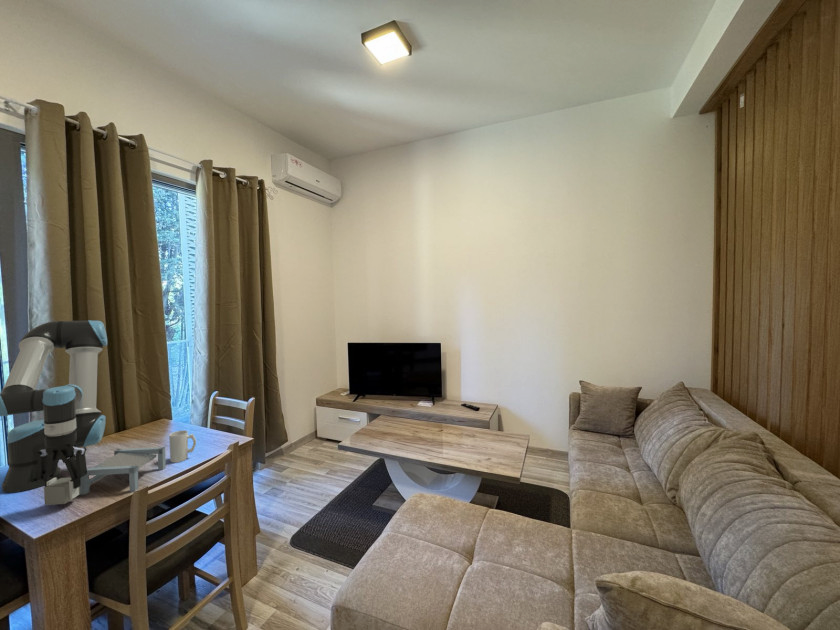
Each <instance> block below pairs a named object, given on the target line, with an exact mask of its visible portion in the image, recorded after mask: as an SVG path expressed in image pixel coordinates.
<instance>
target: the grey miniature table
mask: <svg viewBox="0 0 840 630" xmlns="http://www.w3.org/2000/svg"><path fill="white" fill-rule="evenodd" d="M119 452H121V453H137V454H154V455H157V462H158V465H157V468H158V471H163V470H165V469H166V446H160V447H159V446H158V447H138V448H137V447H135V448H134V447H133V448H119V449H118V448H117V449H115V450H114V451H113V453H114V455H116V454H118V453H119ZM114 455H113V456H114ZM120 474H121V475H125V474H128V475H129V479H128V481H129V483H128V484H129V492H131V493H132V492H133V493H134V492H136V491H137V489H138V490H139V469H138V465H135V466H117V467H99V468H93V467H87V474H86V475H84V476H83V477H81V478H80V480H81V485H80V494H79V495H80V496H83V495H84V496H85V495H87V494H88V493H90V486H91V485H93V484H94V483H96V482H98V481H99V480H101V479H102V478H104V477H106V476H107V475H120ZM90 476H92V477H91V478H90ZM135 490H136V491H135Z"/></svg>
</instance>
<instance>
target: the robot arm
mask: <svg viewBox="0 0 840 630" xmlns="http://www.w3.org/2000/svg"><path fill="white" fill-rule="evenodd" d="M105 327H106V326H105V324H104V322H102V321H101V320H90V319H88V320H53V321H48V322H44V323H42V324H40V325H37V326H36V327H34V328H32V329H31V330H28V332H26V334H24V335H23V337H21V339H20V341H19V344H18V349H19V353H18V354H17V357H16V359H15V360H14V363H13V366H12V368H11V371H10V372H9V374H8V377H7V379H6V382H5V384H4V385H3V387H2V390H1V392H0V417H4V416H12V415H19V414H20V415H21V414H26V413H35V412H43V419H37V420H34V421H29V422H26V423H24V424H20V425H17V426H16V427H14V428H12V429H10V430H9V431H8V435H7V441H6V443H7V456H8V457H7V458H8V469H7V471H6V473H5V477H4V480H3V481H2V484H1V491H2V492H3V493H19V492H25V491H30V490H32V489H37V488H40V487H43V486H44V487H46V486H48V485H49V484H51V483H53V482H55V481H56V480H58V479H60V478H61V476H62V469H61V467H59V462H60V461H62V463H64V465H65V468H66V469H67V472H68V474H69V478H71V480H70V481H69V495H70V499H71V500H73V499H75V498H76V497H77V496H79V495H80V494H79V487H80V485H81V480H80V478H81V477H83V476H84V475H86V474H87V468H88V467H87V459H86V451H87V447H90V446H95V445H97V444H99V443H100V442H102V439H103V437H104V432H105V430H106V429H105V428H106V420H107V418H106V415H104V414H102V411H101V410H99V409H98V408H97V397H98V396H97V395H98V363H99V360H98V359H99V354H100V353H101V352H102V351H103V347H106V346H108V336H107V331H106V328H105ZM55 349H65V350H64V351H65V353H67V354H68V355H69V368H68V369H69V374H68V384H66V385H61V386H55V387H50V388H43V389H36V388H37V386H38V383H39V381H40V377H41V376H42V375H41V374H42V372H43V369H44V366H45V364H46V361H47V358H48V355H49V354H51V353H52V352H53V351H54V350H55Z"/></svg>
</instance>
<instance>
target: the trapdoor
mask: <svg viewBox="0 0 840 630" xmlns="http://www.w3.org/2000/svg"><path fill="white" fill-rule="evenodd" d="M155 458H157V454H137V453H121V452H119V453H118V454H116V455H112V456H110V457H109V458H107V459H106V460H103V461H102V462H100V463H99V464H97V465H95V466H93V467H92V468H99V467H117V466H135V465H138V470H140V469H141V468H143V467H144V466H145V465H147V464H148V463H150V462H151V461H153V460H154V459H155Z"/></svg>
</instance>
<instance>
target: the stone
mask: <svg viewBox="0 0 840 630" xmlns="http://www.w3.org/2000/svg"><path fill="white" fill-rule="evenodd" d="M70 480H71V477H59V478H58V479H57V480H56V481H55V482H53V483H51V484H49V485H48V486H46V487H45V486H44V487H43V492H44V494H43V497H44V506H49V505H50V506H51V505H52V506H53V505H65V504H67V503H69V502H70V501H71V500H72V499H70V495H69V481H70ZM79 495H80V487H79Z"/></svg>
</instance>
